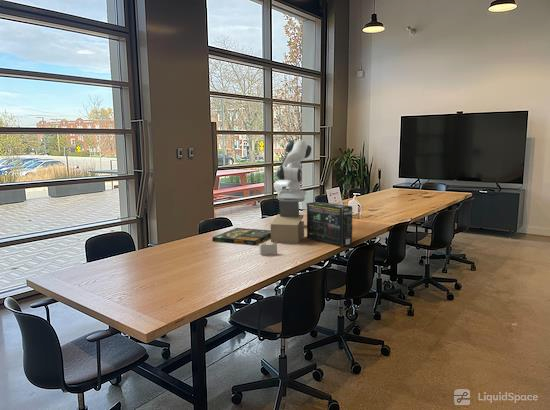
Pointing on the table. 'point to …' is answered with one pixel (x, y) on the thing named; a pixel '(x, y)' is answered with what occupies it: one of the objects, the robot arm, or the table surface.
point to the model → (268, 249)
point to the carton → (287, 233)
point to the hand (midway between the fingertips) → (289, 204)
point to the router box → (329, 223)
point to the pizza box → (243, 236)
